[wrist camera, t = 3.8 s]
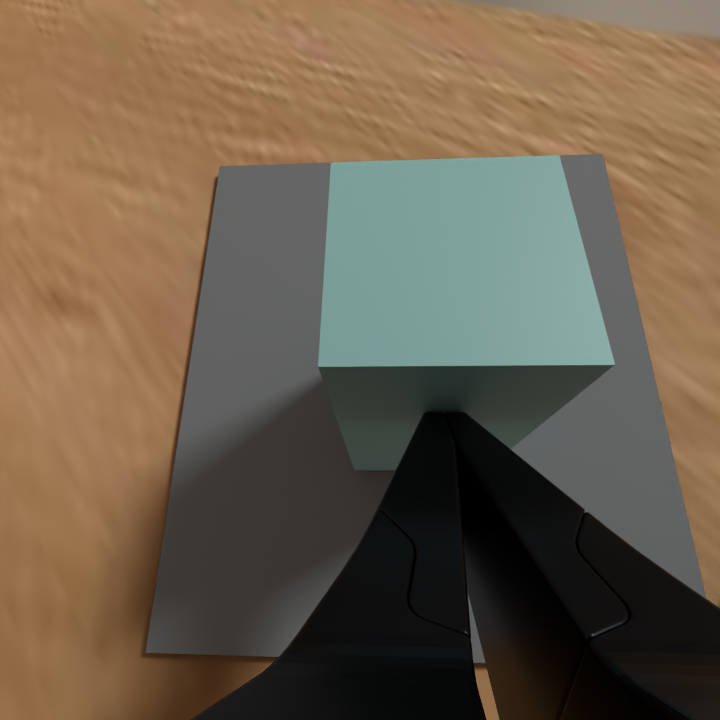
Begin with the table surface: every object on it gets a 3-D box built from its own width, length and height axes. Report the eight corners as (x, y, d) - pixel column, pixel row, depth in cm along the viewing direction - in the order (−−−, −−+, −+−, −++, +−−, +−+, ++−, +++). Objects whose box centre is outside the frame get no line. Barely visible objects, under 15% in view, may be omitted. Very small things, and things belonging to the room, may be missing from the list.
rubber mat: (712, 665, 13) (722, 670, 13) (151, 648, 14) (145, 653, 14) (598, 160, 20) (602, 154, 19) (222, 172, 20) (219, 166, 20)
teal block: (483, 470, 14) (615, 364, 6) (354, 470, 15) (318, 367, 6) (470, 354, 16) (559, 155, 8) (356, 354, 17) (331, 162, 8)
